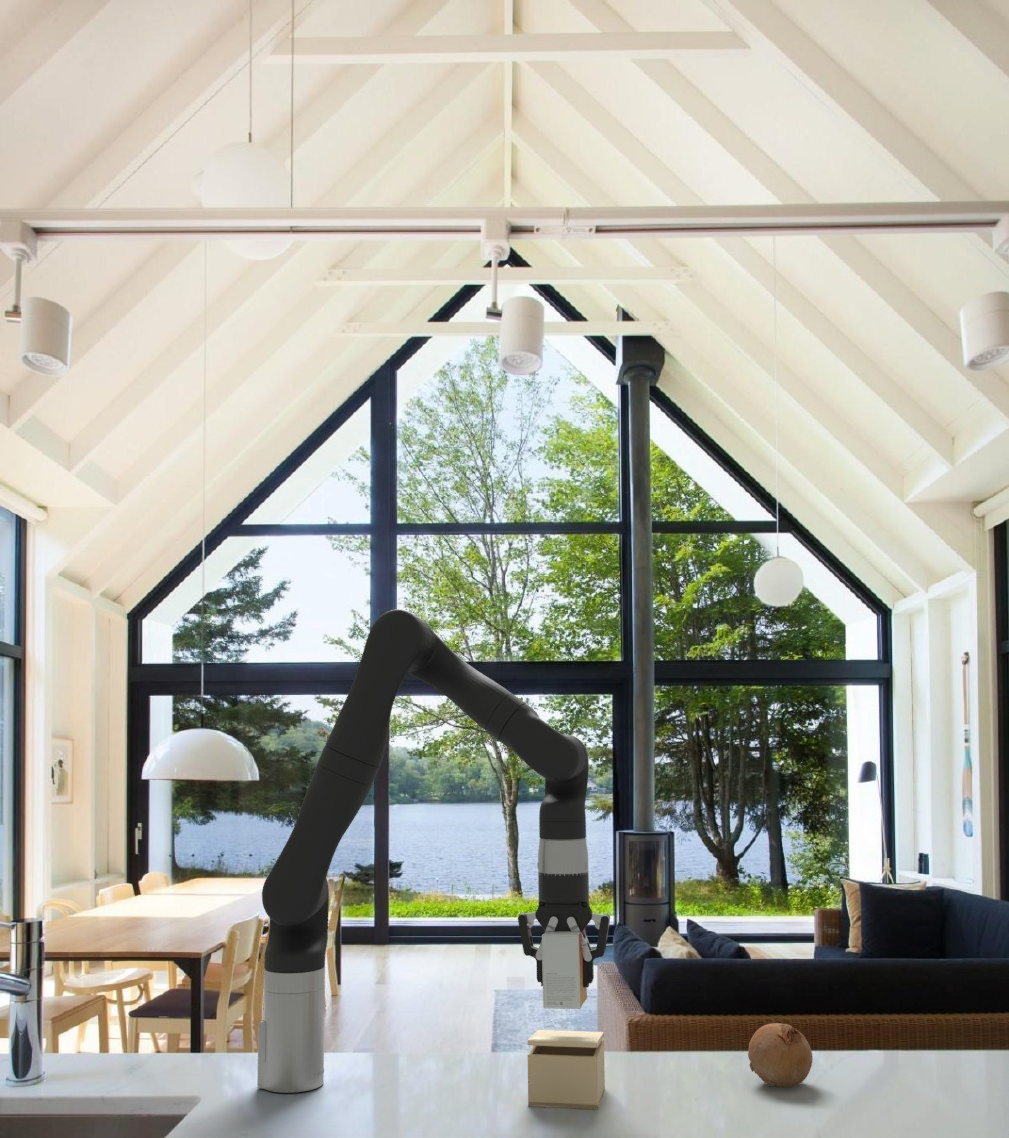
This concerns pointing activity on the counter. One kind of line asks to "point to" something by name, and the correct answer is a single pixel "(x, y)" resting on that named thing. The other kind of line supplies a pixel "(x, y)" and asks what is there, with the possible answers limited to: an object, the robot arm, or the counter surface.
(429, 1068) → the counter surface
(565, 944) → the small box
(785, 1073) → the onion
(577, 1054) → the carton
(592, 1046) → the lid
